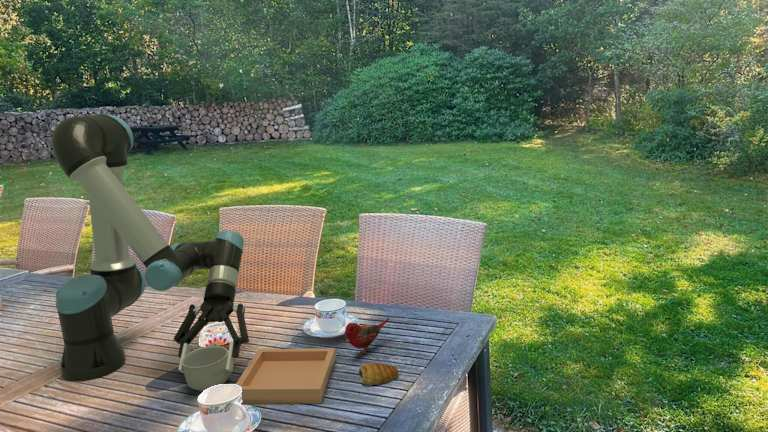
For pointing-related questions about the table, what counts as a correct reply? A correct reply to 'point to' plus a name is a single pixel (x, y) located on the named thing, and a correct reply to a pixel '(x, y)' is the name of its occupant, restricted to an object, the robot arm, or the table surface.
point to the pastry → (377, 373)
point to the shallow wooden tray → (287, 375)
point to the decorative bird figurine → (362, 334)
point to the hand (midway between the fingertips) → (205, 371)
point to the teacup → (206, 367)
